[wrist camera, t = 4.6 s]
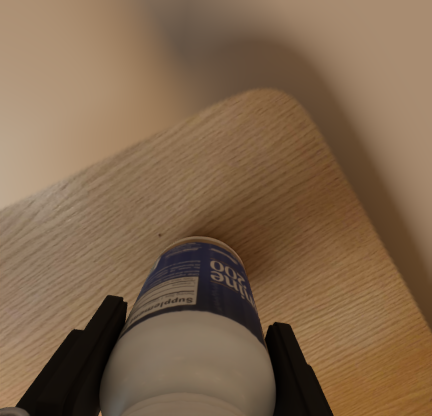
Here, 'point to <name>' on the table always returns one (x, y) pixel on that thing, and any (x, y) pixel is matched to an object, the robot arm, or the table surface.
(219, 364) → the pill bottle
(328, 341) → the table surface
